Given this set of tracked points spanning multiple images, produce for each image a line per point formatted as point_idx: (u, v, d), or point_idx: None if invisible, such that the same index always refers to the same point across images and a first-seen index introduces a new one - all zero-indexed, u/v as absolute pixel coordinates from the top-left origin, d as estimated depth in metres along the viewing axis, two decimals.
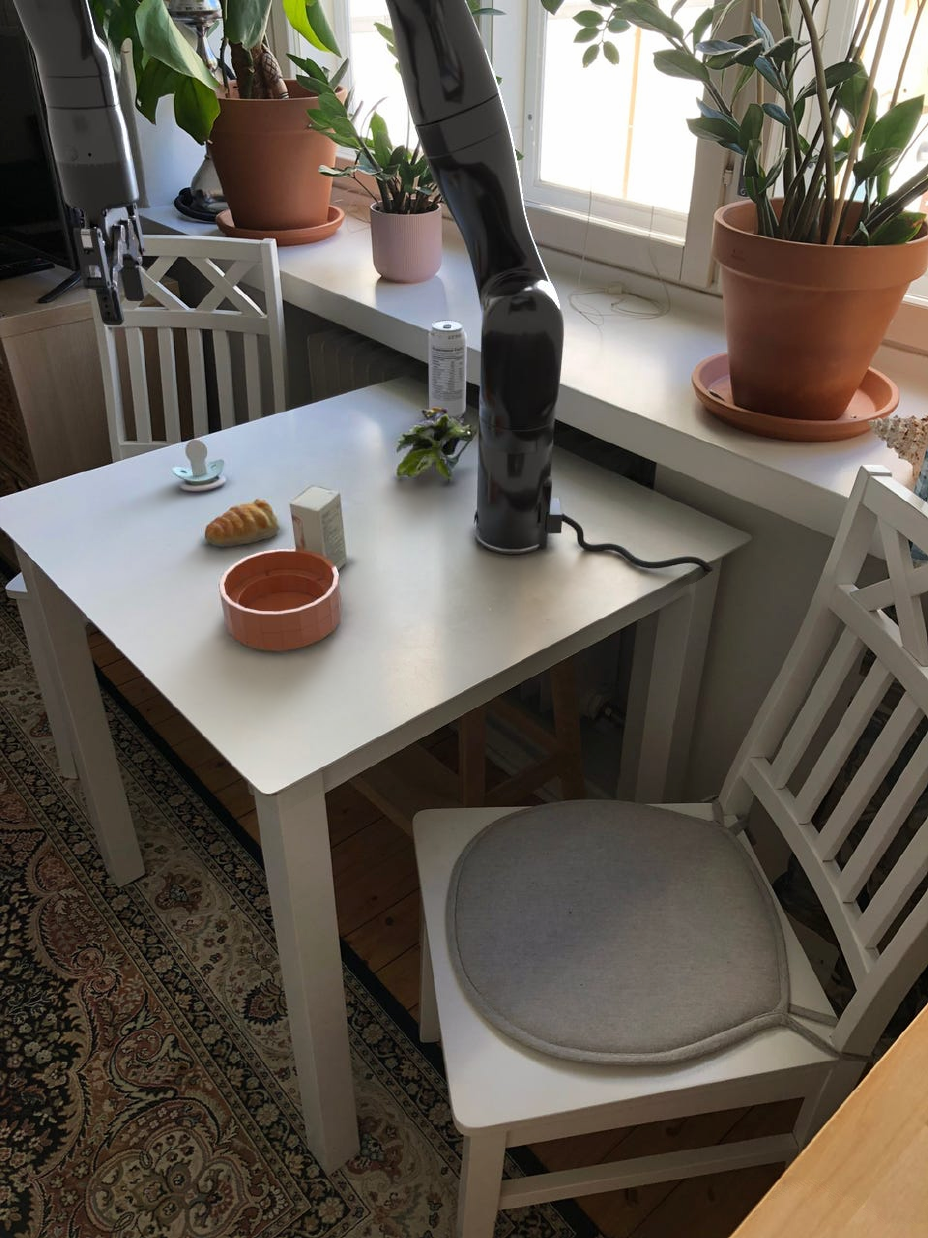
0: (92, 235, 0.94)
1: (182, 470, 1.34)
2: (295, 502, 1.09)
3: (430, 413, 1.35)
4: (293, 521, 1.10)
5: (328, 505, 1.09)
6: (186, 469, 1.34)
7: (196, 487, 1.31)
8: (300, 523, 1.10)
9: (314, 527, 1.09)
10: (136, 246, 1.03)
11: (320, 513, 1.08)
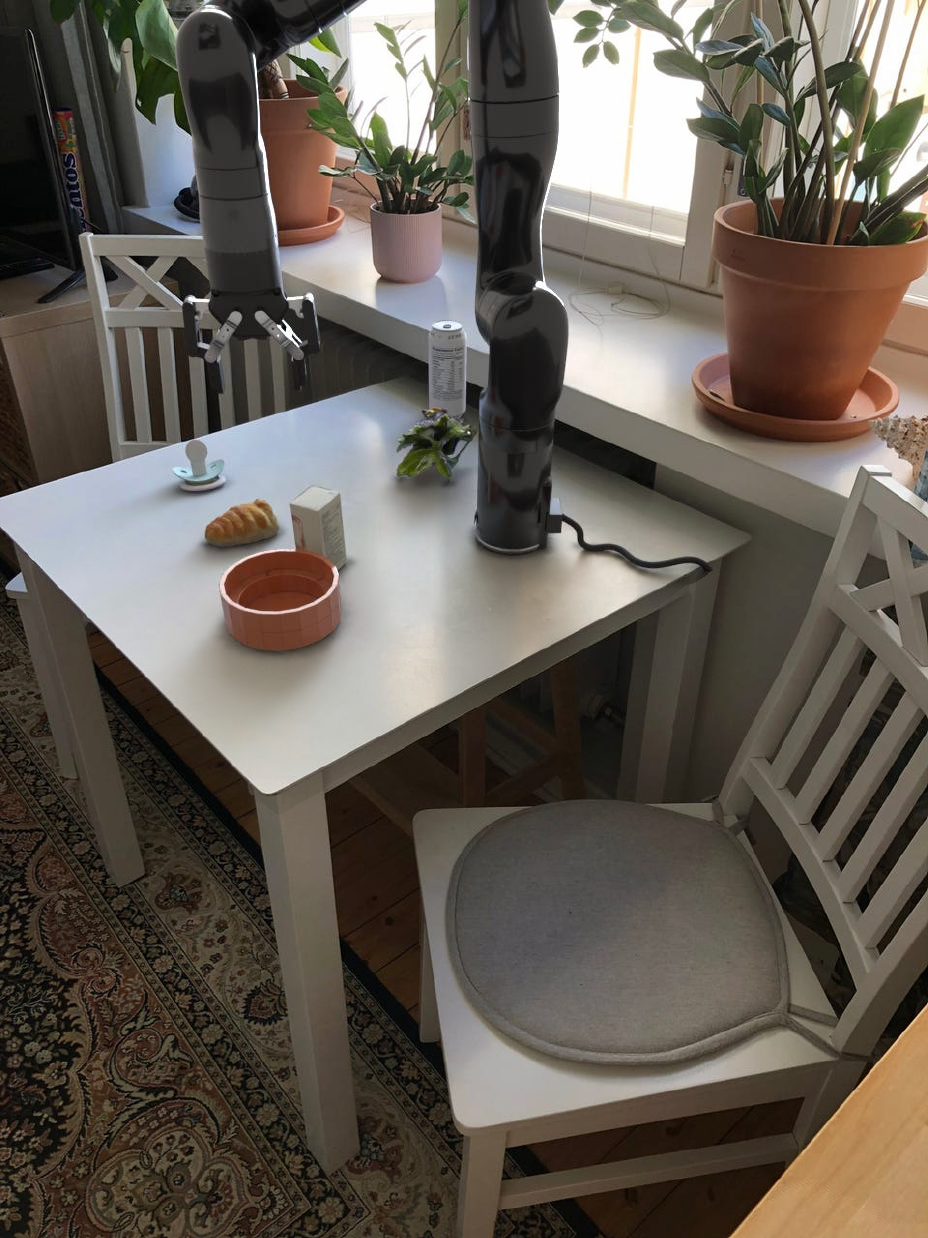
0: None
1: (182, 470, 1.34)
2: (295, 502, 1.09)
3: (430, 413, 1.35)
4: (293, 521, 1.10)
5: (328, 505, 1.09)
6: (186, 469, 1.34)
7: (196, 487, 1.31)
8: (300, 523, 1.10)
9: (314, 527, 1.09)
10: (277, 339, 1.00)
11: (320, 513, 1.08)
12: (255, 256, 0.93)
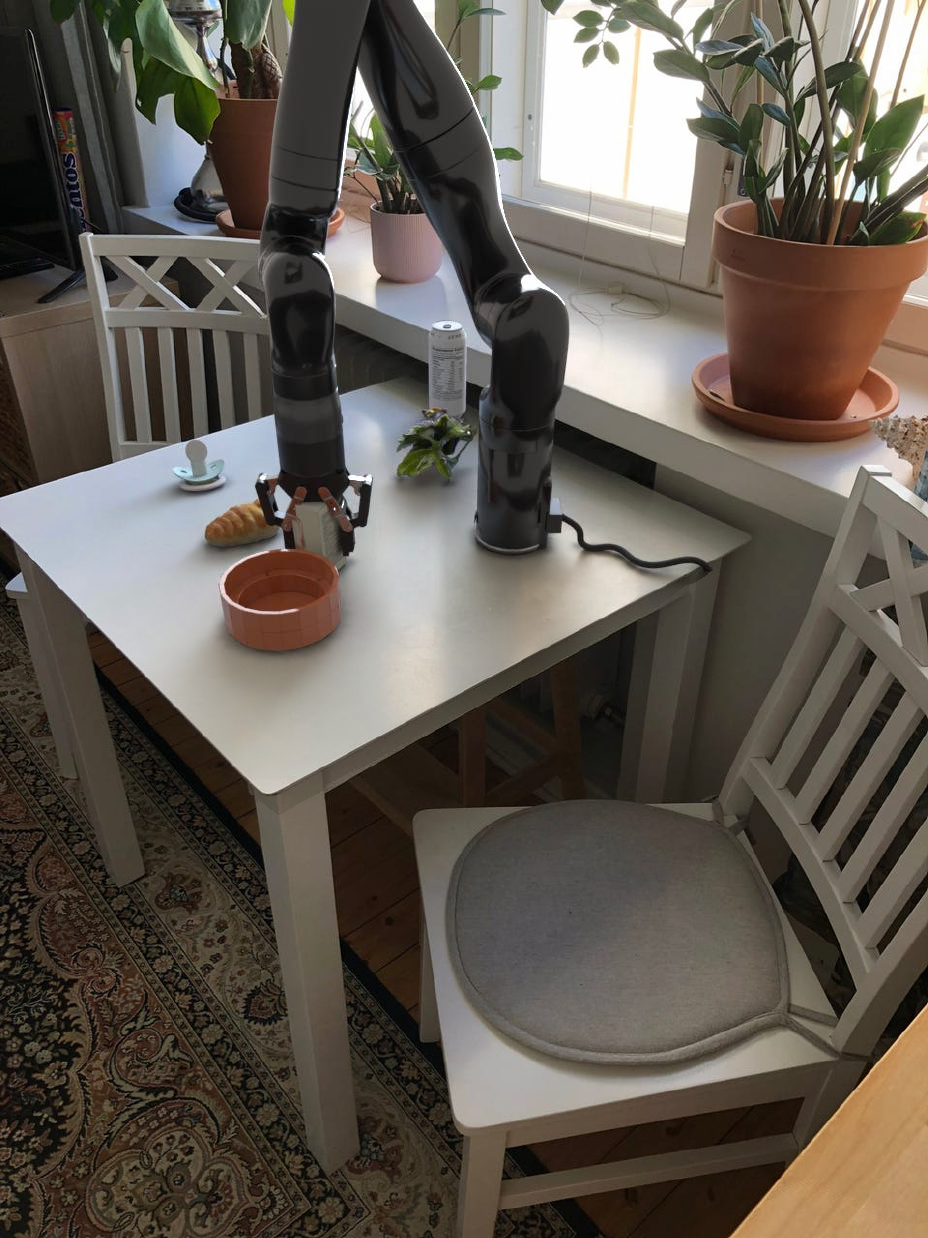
0: None
1: (182, 470, 1.34)
2: None
3: (430, 413, 1.35)
4: (293, 521, 1.10)
5: None
6: (186, 469, 1.34)
7: (196, 487, 1.31)
8: (300, 523, 1.10)
9: (314, 527, 1.09)
10: (332, 512, 1.09)
11: (320, 513, 1.08)
12: (320, 446, 1.03)
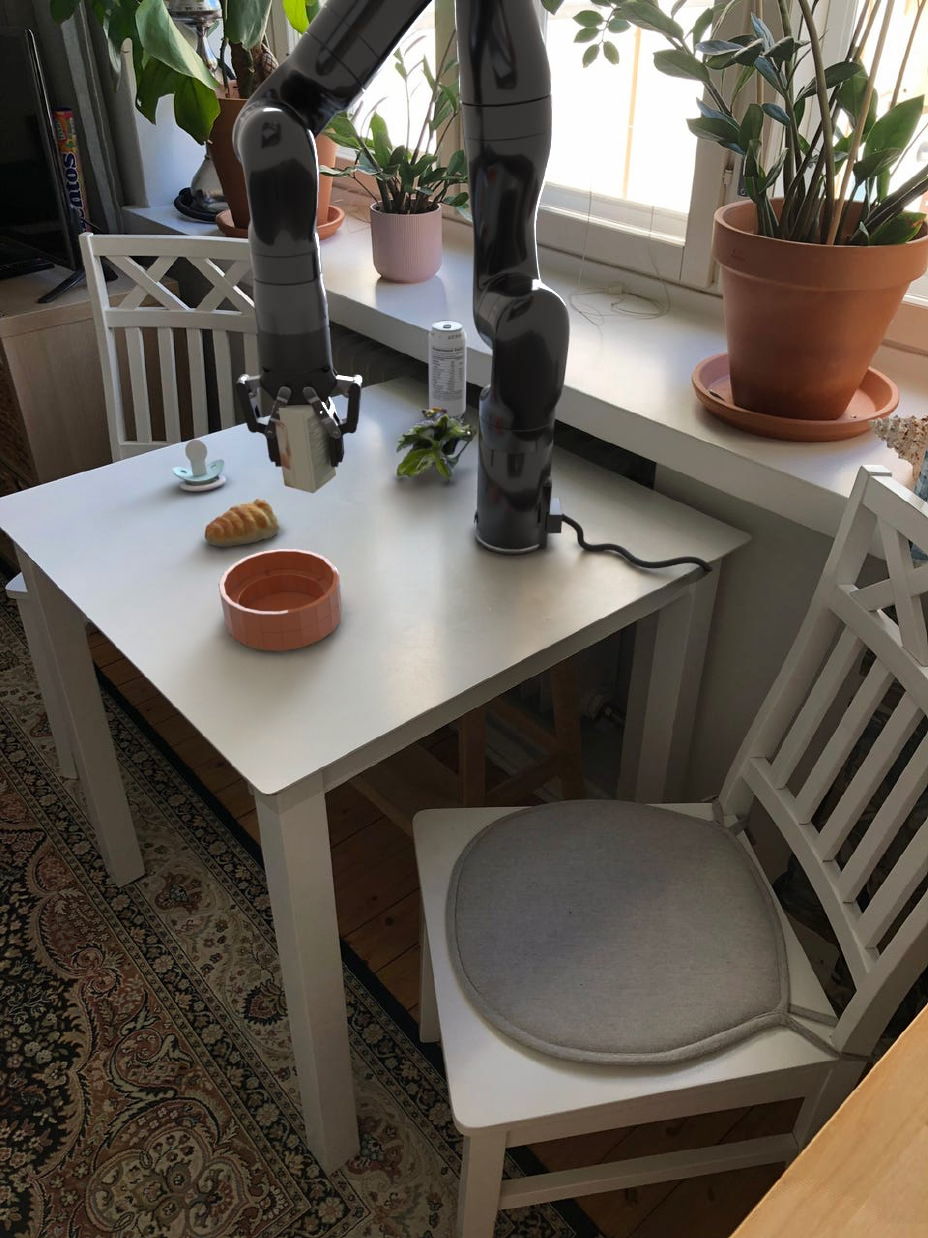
0: None
1: (182, 470, 1.34)
2: None
3: (430, 413, 1.35)
4: (277, 427, 1.03)
5: None
6: (186, 469, 1.34)
7: (196, 487, 1.31)
8: (285, 429, 1.02)
9: (300, 432, 1.02)
10: (319, 415, 1.02)
11: (306, 416, 1.01)
12: (304, 337, 0.95)
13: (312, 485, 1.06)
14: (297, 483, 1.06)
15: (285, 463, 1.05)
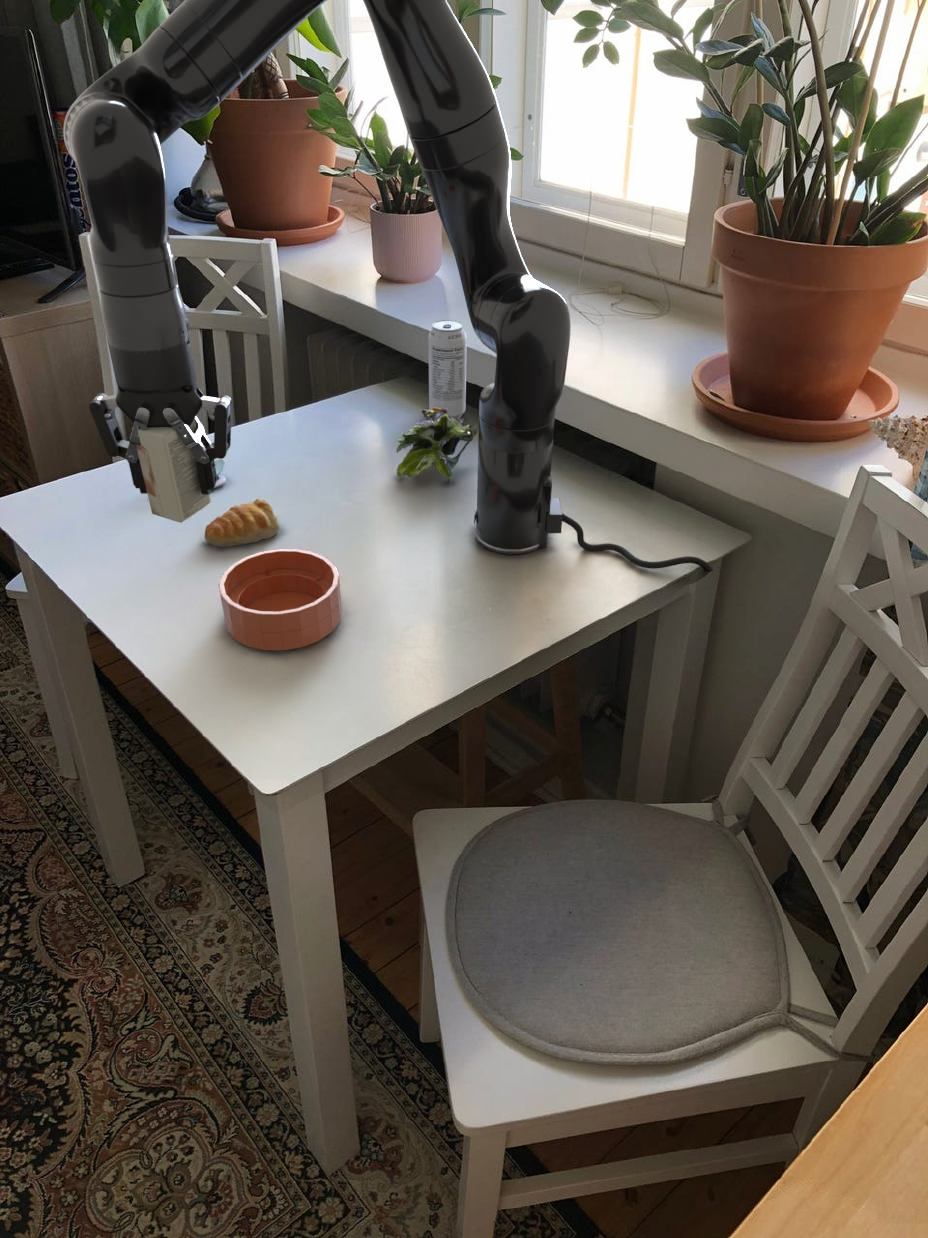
0: None
1: None
2: None
3: (430, 413, 1.35)
4: (138, 451, 0.94)
5: None
6: None
7: None
8: (146, 453, 0.94)
9: (161, 456, 0.93)
10: (183, 439, 0.93)
11: (167, 439, 0.92)
12: (157, 355, 0.86)
13: (179, 514, 0.97)
14: (164, 512, 0.97)
15: (150, 489, 0.97)
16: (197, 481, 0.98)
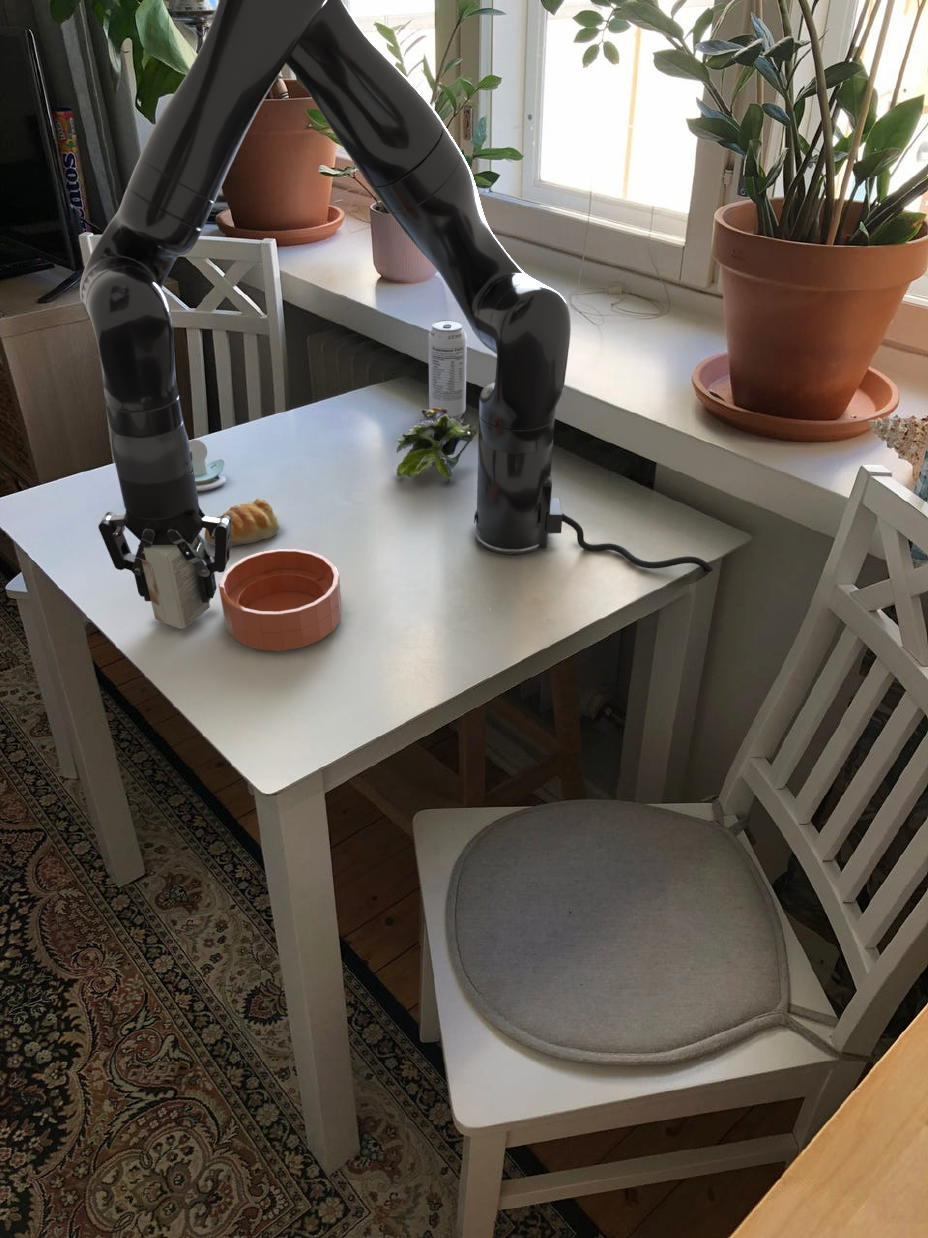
0: None
1: None
2: None
3: (430, 413, 1.35)
4: (143, 565, 1.01)
5: None
6: None
7: (196, 487, 1.31)
8: (151, 568, 1.01)
9: (165, 572, 1.00)
10: (185, 556, 1.00)
11: (170, 557, 0.99)
12: (163, 486, 0.93)
13: (181, 622, 1.04)
14: (167, 619, 1.04)
15: (154, 599, 1.03)
16: (198, 590, 1.05)
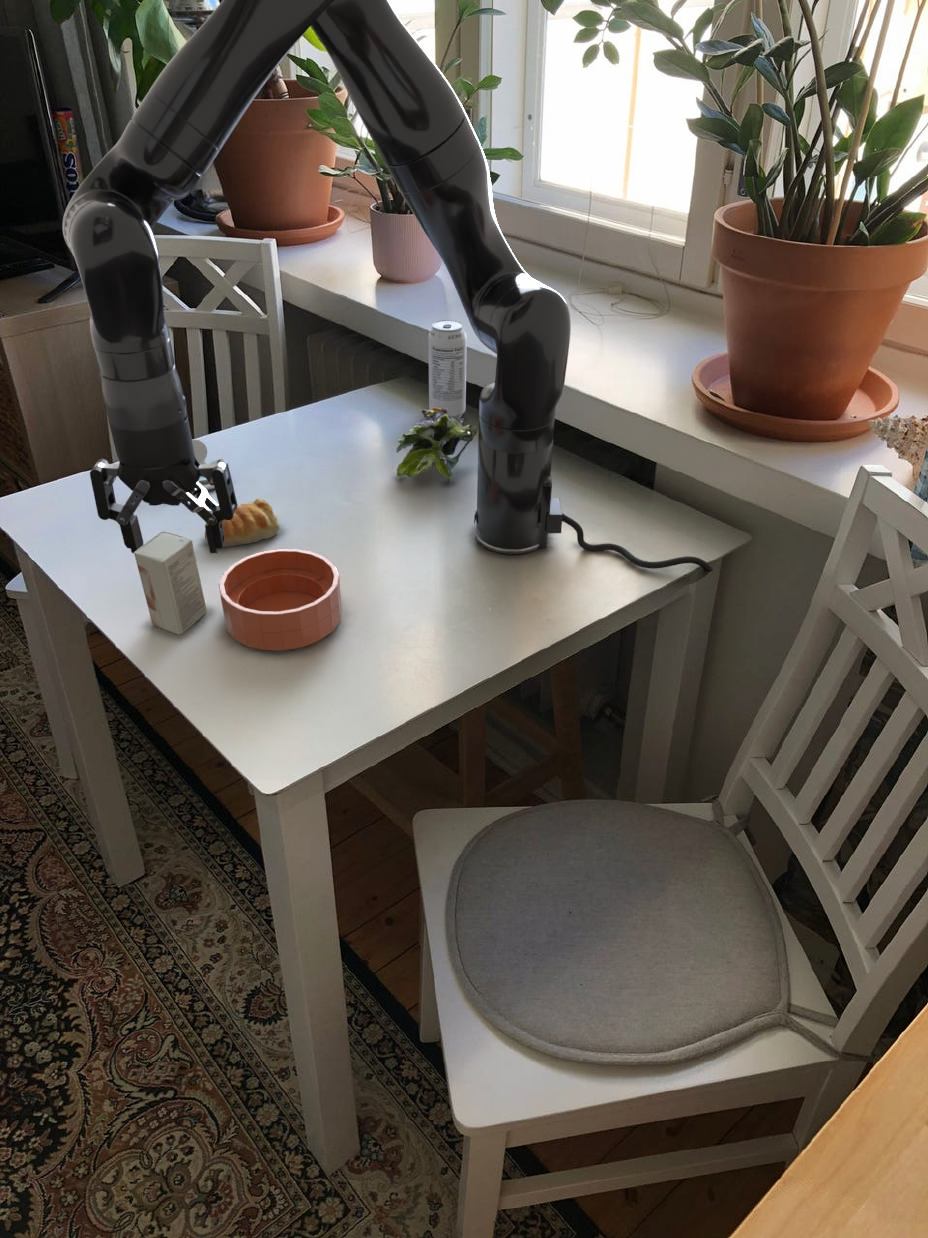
0: None
1: None
2: (140, 552, 1.00)
3: (430, 413, 1.35)
4: (140, 572, 1.01)
5: (177, 554, 1.00)
6: None
7: None
8: (147, 574, 1.01)
9: (162, 578, 1.00)
10: (187, 506, 0.97)
11: (167, 564, 0.99)
12: (156, 433, 0.90)
13: (179, 627, 1.04)
14: (164, 625, 1.05)
15: (151, 605, 1.04)
16: (194, 595, 1.05)
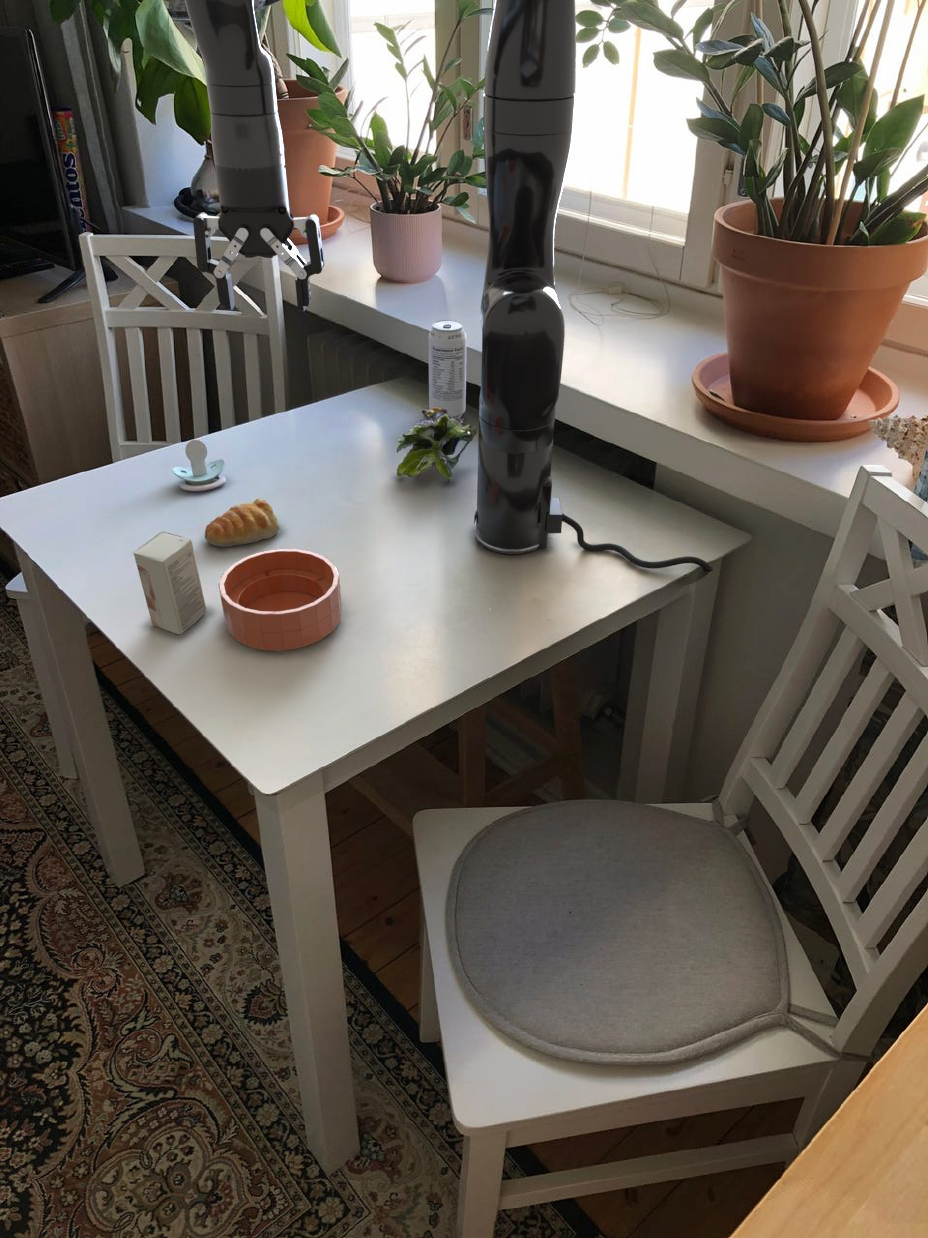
0: None
1: (182, 470, 1.34)
2: (139, 552, 1.00)
3: (430, 413, 1.35)
4: (139, 572, 1.01)
5: (176, 554, 1.00)
6: (186, 469, 1.34)
7: (196, 487, 1.31)
8: (147, 574, 1.01)
9: (161, 578, 1.00)
10: (281, 257, 1.05)
11: (166, 563, 0.99)
12: (260, 172, 0.98)
13: (179, 627, 1.04)
14: (164, 625, 1.05)
15: (151, 605, 1.04)
16: (194, 595, 1.05)
